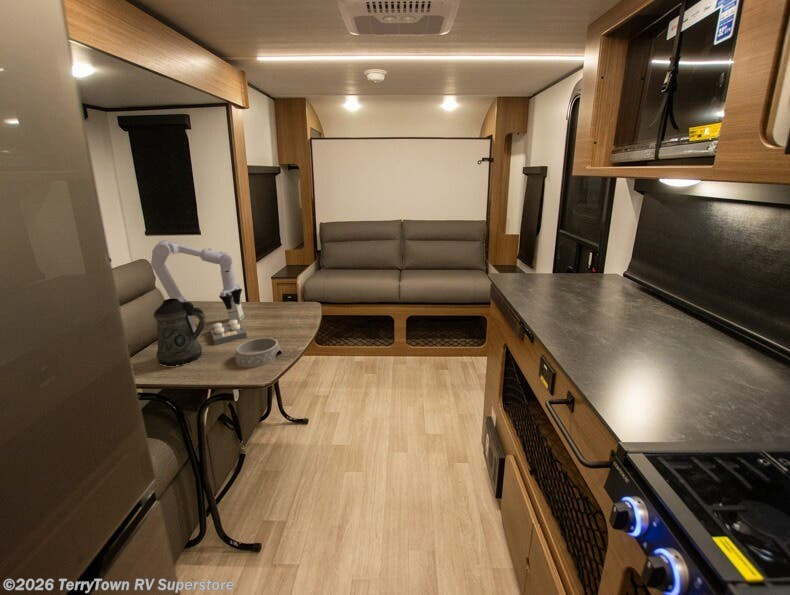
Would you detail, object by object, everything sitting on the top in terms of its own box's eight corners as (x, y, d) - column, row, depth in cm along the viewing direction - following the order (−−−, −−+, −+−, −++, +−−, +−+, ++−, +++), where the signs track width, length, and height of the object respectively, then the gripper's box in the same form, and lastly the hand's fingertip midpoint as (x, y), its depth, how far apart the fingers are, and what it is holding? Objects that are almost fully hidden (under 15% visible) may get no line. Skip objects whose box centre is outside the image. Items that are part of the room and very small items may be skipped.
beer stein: (154, 358, 167) (139, 300, 159) (203, 344, 179) (192, 289, 171) (163, 372, 155) (147, 310, 147) (215, 355, 166) (203, 297, 159)
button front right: (232, 333, 185) (231, 327, 184) (231, 330, 189) (229, 325, 188) (241, 331, 187) (240, 325, 186) (240, 328, 190) (239, 323, 190)
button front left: (215, 337, 182) (214, 331, 181) (214, 334, 185) (213, 328, 184) (225, 334, 184) (224, 329, 183) (224, 332, 187) (223, 326, 186)
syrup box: (240, 320, 204) (234, 293, 200) (229, 322, 204) (222, 294, 200) (244, 316, 209) (238, 290, 205) (233, 318, 210) (227, 291, 205)
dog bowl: (227, 367, 156) (225, 355, 155) (249, 347, 173) (247, 335, 172) (269, 368, 154) (267, 355, 152) (288, 347, 171) (286, 336, 169)
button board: (215, 344, 177) (213, 339, 176) (210, 331, 193) (209, 325, 192) (247, 337, 183) (246, 331, 183) (239, 325, 199) (238, 319, 198)
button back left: (214, 332, 188) (212, 326, 187) (213, 329, 191) (211, 323, 190) (223, 330, 190) (222, 324, 189) (222, 327, 193) (221, 322, 192)
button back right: (230, 328, 191) (228, 323, 190) (228, 326, 194) (227, 320, 194) (238, 326, 193) (237, 321, 192) (237, 324, 196) (236, 318, 195)
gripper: (228, 283, 184) (233, 311, 188) (243, 275, 198) (248, 301, 202) (214, 283, 185) (219, 311, 189) (230, 275, 199) (234, 301, 203)
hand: (233, 306), depth 196 cm, fingers open, 7 cm apart
